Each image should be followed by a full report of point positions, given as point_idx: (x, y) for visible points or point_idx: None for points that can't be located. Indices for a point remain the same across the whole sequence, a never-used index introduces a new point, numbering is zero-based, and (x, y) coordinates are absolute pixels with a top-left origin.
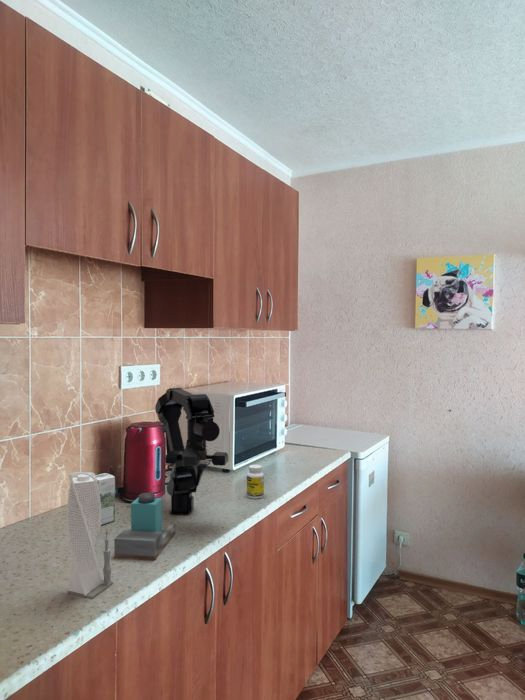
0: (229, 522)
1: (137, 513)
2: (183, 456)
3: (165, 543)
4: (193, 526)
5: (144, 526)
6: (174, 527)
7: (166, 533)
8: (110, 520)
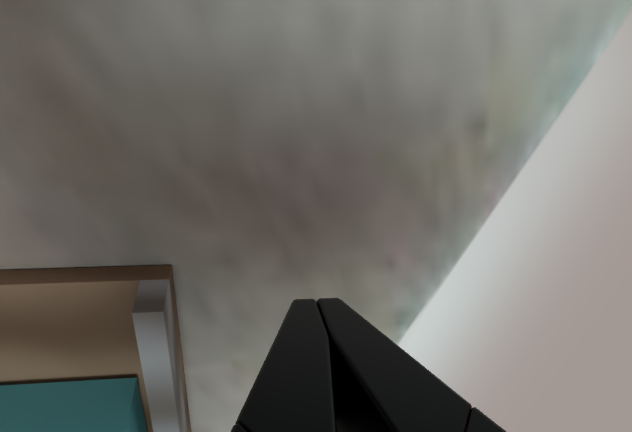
0: (533, 26)
1: None
2: None
3: (185, 405)
4: (257, 138)
5: None
6: (167, 308)
7: (174, 424)
8: None
